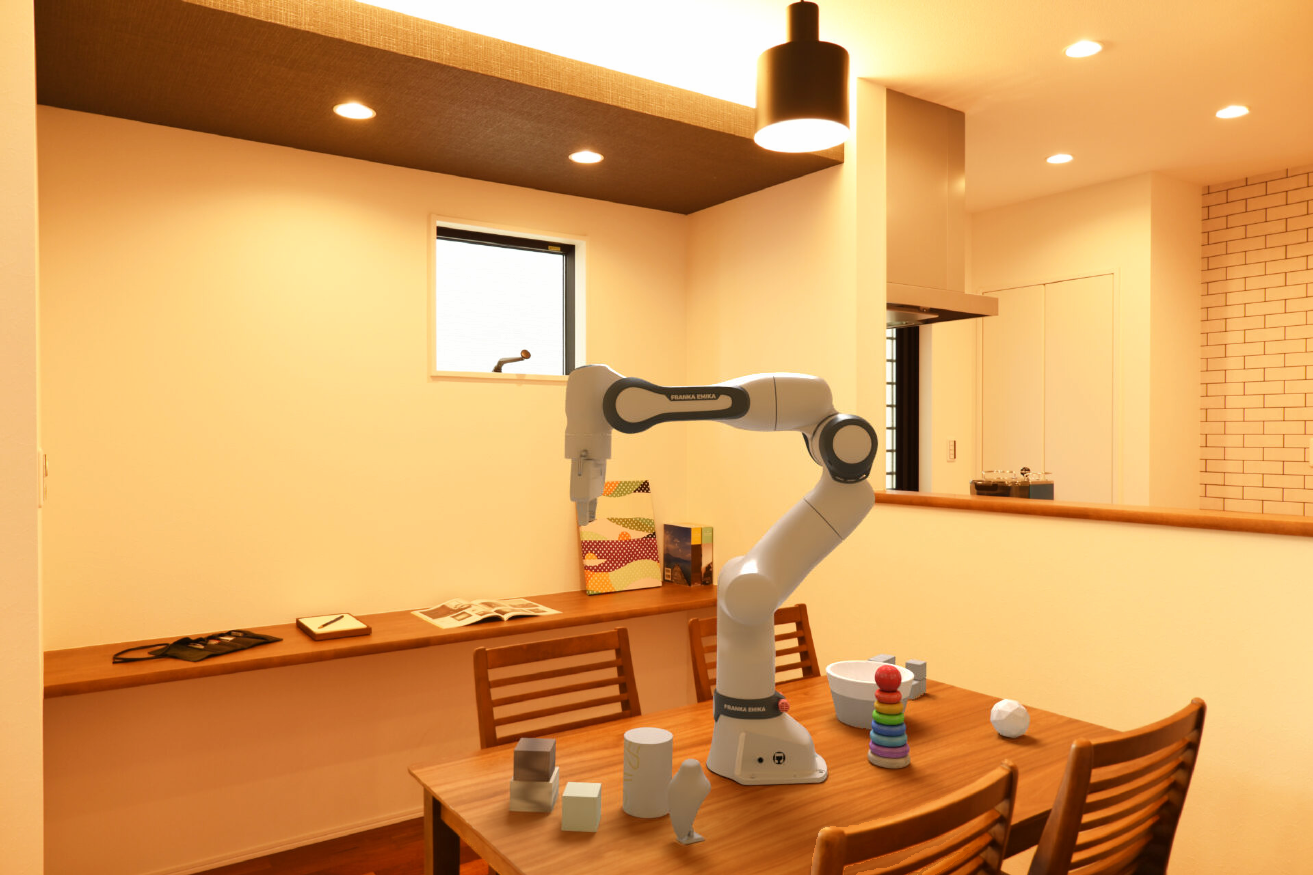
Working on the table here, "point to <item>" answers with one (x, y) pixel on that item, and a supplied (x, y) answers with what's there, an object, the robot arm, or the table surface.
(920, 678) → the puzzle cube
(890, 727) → the stacking toy
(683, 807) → the figurine
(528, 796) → the maple base
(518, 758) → the walnut mid
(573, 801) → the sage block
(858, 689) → the bowl
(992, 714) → the geometric ball
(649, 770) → the white cylinder
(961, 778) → the table surface
